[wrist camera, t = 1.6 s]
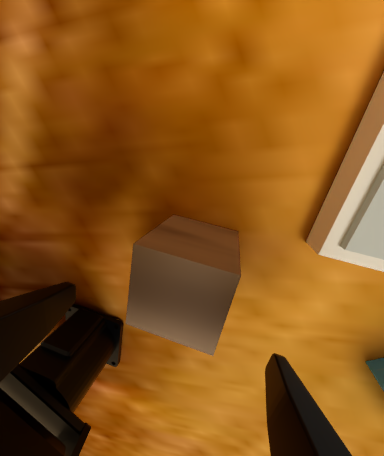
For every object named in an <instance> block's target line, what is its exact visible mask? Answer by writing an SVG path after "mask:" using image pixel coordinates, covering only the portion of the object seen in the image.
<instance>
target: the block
mask: <svg viewBox="0 0 384 456" xmlns="http://www.w3.org/2000/svg"><path fill="white" fill-rule="evenodd" d="M240 277H241V269H240V252H239V236H238V231H235V230H231V229H227V228H223V227H219V226H216V225H212V224H208V223H204V222H200V221H196V220H193V219H189V218H185V217H181V216H177V215H172V216H171V217H170V218H168V219H167V220H166V221H164V222H163V223H161V224H160V225H159V226H157V227H156V228H155V229H153V230H152V231H150V232H149V233H148V234H146V235H145V236H143V237H142V238H141V239H139V240H138V241H137V242H135V243H134V244H133V254H132V264H131V274H130V285H129V295H128V305H127V316H126V324H128V325H131V326H133V327H136V328H139V329H141V330H144V331H147V332H150V333H152V334H155V335H158V336H160V337H163V338H166V339H169V340H171V341H174V342H177V343H179V344H182V345H185V346H188V347H190V348H193V349H196V350H198V351H201V352H204V353H207V354H209V355H212V356H213V355H214V352H215V349H216V346H217V343H218V340H219V337H220V334H221V332H222V329H223V326H224V323H225V320H226V317H227V314H228V311H229V308H230V306H231V303H232V300H233V297H234V294H235V291H236V288H237V285H238V282H239V280H240Z"/></svg>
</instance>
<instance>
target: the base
mask: <svg viewBox="0 0 384 456" xmlns="http://www.w3.org/2000/svg"><path fill="white" fill-rule="evenodd" d="M306 243H307V244H308V245H309V246H310V247H311V248H312V249H313V250H314V251H315V252H316V253H317V254H318V255H322V256H325V257H329V258H333V259H337V260H341V261H345V262H348V263H352V264H356V265H360V266H364V267H367V268H371V269H375V270H379V271H383V272H384V72H383V74H382V76H381V79H380V81H379V83H378V85H377V87H376V90H375V92H374V94H373V96H372V98H371V100H370V103H369V105H368V107H367V109H366V111H365V114H364V116H363V118H362V120H361V122H360V125H359V127H358V129H357V131H356V133H355V135H354V138H353V140H352V142H351V144H350V146H349V149H348V151H347V153H346V155H345V157H344V159H343V162H342V164H341V166H340V168H339V170H338V173H337V175H336V177H335V179H334V181H333V184H332V186H331V188H330V190H329V192H328V194H327V197H326V199H325V201H324V203H323V205H322V208H321V210H320V212H319V214H318V216H317V219H316V221H315V223H314V225H313V227H312V229H311V232H310V234H309V236H308V238H307V240H306Z"/></svg>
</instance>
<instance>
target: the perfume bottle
mask: <svg viewBox="0 0 384 456" xmlns="http://www.w3.org/2000/svg"><path fill="white" fill-rule="evenodd" d="M365 362H366V364H367V365H368V367H369V368H370V370H371V372H372V373H373V375H374V377H375V378H376V380H377V381H378V383H379V385H380V386H381V388H382V390H383V391H384V358H379V359H374V360H370V361H365Z"/></svg>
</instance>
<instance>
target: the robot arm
mask: <svg viewBox="0 0 384 456" xmlns="http://www.w3.org/2000/svg"><path fill="white" fill-rule="evenodd" d="M75 300H76V286H75V284H73V283H70V282H64V283H60V284H57V285H53V286H50V287H47V288H43V289H40V290H36V291H33V292H30V293H26V294H23V295H19V296H16V297H13V298H9V299H6V300H2V301H0V456H79V454H80V452H81V449H82V447H83V445H84V442H85V440H86V438H87V436H88V433H89V431H90V429H91V426H90V425H88V424H87V423H84V422H83V421H81V420H80V419H79V418H78V417H77V416H76V415H75V414H74V411H75V410H76V408H77V407H78V405H79V404H80V402H81V401H82V399H83V398H84V396H85V395H86V393H87V392H88V390H89V389H90V387H91V386H92V384H93V383H94V381H95V380H96V378H97V377H98V375H99V373H100V372H101V370H102V369H103V367H104V366H105V364H106V363H107V364H109V365H111V366H114V367H116V366H117V365H118V364H119V362H120V353H121V341H122V330H123V323H122V322H121V321H120V320H117V319H115V318H112V317H109V316H106V315H104V314H101V313H98V312H95V311H93V310H90V309H87V308H84V307H82V306H79V305H76V304H74V302H75ZM64 315H66V321H65V322H64V323H63V324H61V325H60V326H59V327H58V328H57V329H56V330H55V331H54V332H52V333H51V334H50V335H49V336H48V337H47V338H46V339H45V340H44V341H42V340H43V339H44V338H45V336H46V335H47V334H48V333H49V332H50V331H51V330H52V329H53V328H54V326H55V325H56V324H57V323H58V322H59V320H60V319H61V318H62V317H63V316H64ZM41 341H42V343H41V345H40V346H39V347H38V348H37V349H35V350H34V351H33V352H32V353H31V354H30V355H29V356H28V357H27V358H25V357H26V356H27V355H28V354H29V353H30V352H31V351H32V350H33V349H34V348H35V347H36V346H37V345H38V344H39V343H40V342H41ZM24 358H25V359H24ZM23 359H24V360H23ZM22 360H23V361H22ZM21 361H22V362H21ZM20 362H21V363H20ZM19 363H20V364H19ZM265 383H266V412H267V427H268V436H269V444H270V452H271V456H352V455H351V454H350V452H349V451H348V449H347V448H346V446H345V445H344V443H343V442H342V440H341V439H340V437H339V436H338V434H337V433H336V431H335V430H334V429H333V427H332V426H331V424H330V423H329V421H328V420H327V418H326V417H325V415H324V414H323V412H322V411H321V409H320V408H319V406H318V405H317V404H316V402H315V401H314V399H313V398H312V396H311V395H310V393H309V392H308V390H307V389H306V387H305V386H304V384H303V383H302V381H301V380H300V379H299V377H298V376H297V374H296V373H295V371H294V370H293V368H292V367H291V365H290V364H289V362H288V361H287V359H286V358H285V357H284V356H281V355H278V354H275V353H274V354H272V356H271V358H270V360H269V362H268V364H267V366H266V369H265Z"/></svg>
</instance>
